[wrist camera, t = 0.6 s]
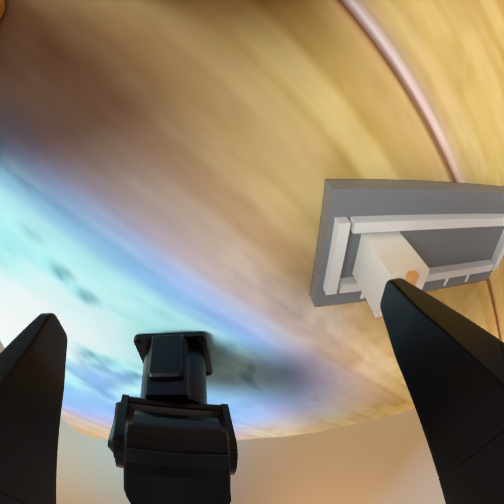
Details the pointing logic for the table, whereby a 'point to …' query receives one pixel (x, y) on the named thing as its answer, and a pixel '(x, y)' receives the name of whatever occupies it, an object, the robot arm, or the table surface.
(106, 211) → the table surface
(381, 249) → the fader knob
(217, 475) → the robot arm
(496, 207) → the fader console
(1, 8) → the coffee package
